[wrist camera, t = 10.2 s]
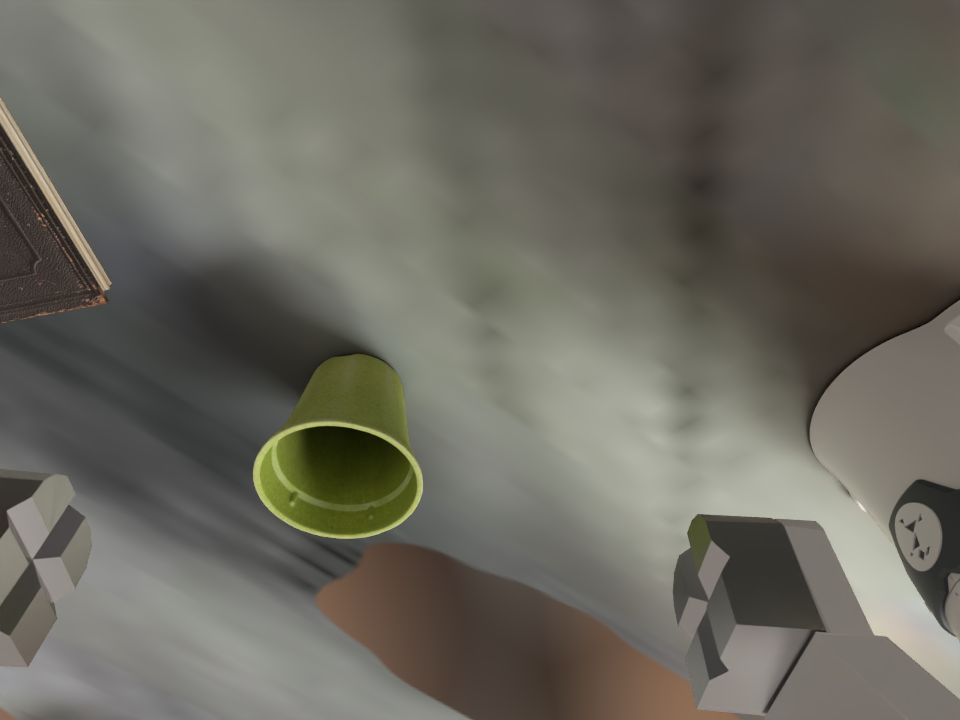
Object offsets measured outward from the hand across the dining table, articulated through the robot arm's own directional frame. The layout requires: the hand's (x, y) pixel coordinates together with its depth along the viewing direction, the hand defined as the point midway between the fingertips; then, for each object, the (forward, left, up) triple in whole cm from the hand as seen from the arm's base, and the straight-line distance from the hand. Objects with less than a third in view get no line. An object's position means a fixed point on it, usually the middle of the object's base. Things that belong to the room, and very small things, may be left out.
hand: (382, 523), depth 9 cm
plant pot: (+5, +22, -30) cm, 37 cm away
